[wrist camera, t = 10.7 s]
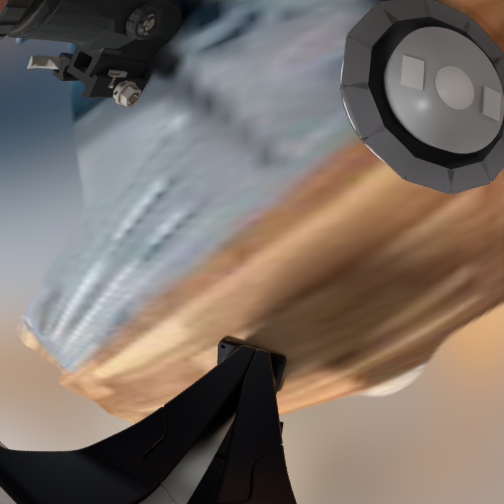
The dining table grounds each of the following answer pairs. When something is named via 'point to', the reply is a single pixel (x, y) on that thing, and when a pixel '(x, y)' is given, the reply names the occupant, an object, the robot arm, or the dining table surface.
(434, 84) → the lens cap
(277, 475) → the robot arm
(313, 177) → the dining table surface
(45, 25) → the scope
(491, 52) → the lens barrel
